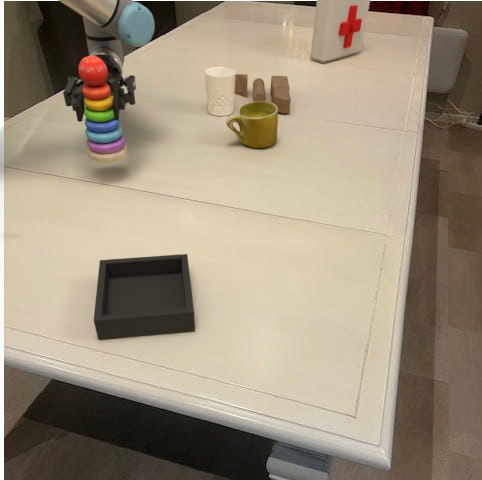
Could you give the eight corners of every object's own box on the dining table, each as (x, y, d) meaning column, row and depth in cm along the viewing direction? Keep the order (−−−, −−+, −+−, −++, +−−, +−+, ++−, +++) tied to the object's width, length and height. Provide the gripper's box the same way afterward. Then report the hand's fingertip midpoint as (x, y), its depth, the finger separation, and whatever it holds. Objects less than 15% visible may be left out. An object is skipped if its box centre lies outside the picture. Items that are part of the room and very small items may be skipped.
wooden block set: (287, 71, 137) (292, 93, 124) (285, 91, 141) (289, 115, 128) (228, 69, 137) (226, 91, 124) (228, 89, 141) (226, 113, 128)
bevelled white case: (326, 65, 159) (335, -5, 146) (308, 60, 164) (315, -10, 150) (364, 54, 170) (377, -13, 156) (346, 49, 174) (357, -17, 160)
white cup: (207, 105, 132) (206, 66, 125) (235, 106, 131) (236, 67, 125) (204, 116, 126) (203, 76, 119) (234, 117, 126) (235, 77, 119)
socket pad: (98, 340, 67) (93, 320, 65) (103, 278, 77) (99, 260, 74) (195, 331, 69) (193, 312, 66) (188, 272, 79) (187, 253, 76)
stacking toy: (91, 146, 101) (73, 48, 88) (129, 147, 102) (118, 49, 89) (84, 164, 95) (65, 62, 82) (125, 164, 96) (112, 63, 83)
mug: (276, 122, 119) (273, 88, 110) (284, 152, 114) (282, 118, 106) (227, 133, 120) (221, 99, 111) (234, 163, 115) (227, 130, 106)
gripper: (150, 89, 108) (151, 132, 91) (63, 91, 106) (48, 135, 89) (146, 53, 103) (147, 90, 86) (55, 54, 100) (37, 93, 84)
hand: (97, 113), depth 88 cm, fingers closed on stacking toy, 6 cm apart
